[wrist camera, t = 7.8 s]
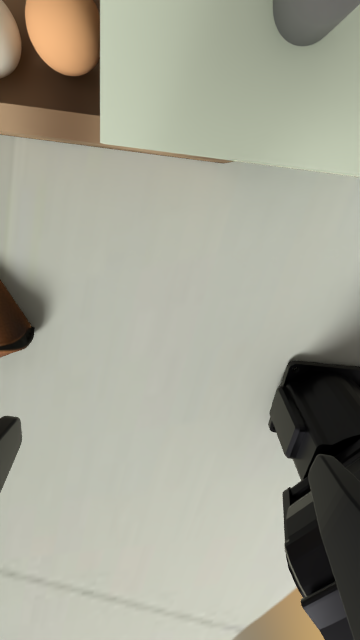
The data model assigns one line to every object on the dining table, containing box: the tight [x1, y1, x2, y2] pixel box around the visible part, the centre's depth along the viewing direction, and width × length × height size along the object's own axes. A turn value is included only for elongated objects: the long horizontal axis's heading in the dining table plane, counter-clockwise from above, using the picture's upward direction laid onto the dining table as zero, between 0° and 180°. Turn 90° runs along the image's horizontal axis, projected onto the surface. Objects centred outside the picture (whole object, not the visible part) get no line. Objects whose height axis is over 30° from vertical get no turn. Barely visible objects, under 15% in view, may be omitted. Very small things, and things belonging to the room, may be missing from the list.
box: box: [0, 0, 233, 163], centre depth 12 cm, size 14×10×4 cm
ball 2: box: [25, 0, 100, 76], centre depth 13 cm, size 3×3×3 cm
